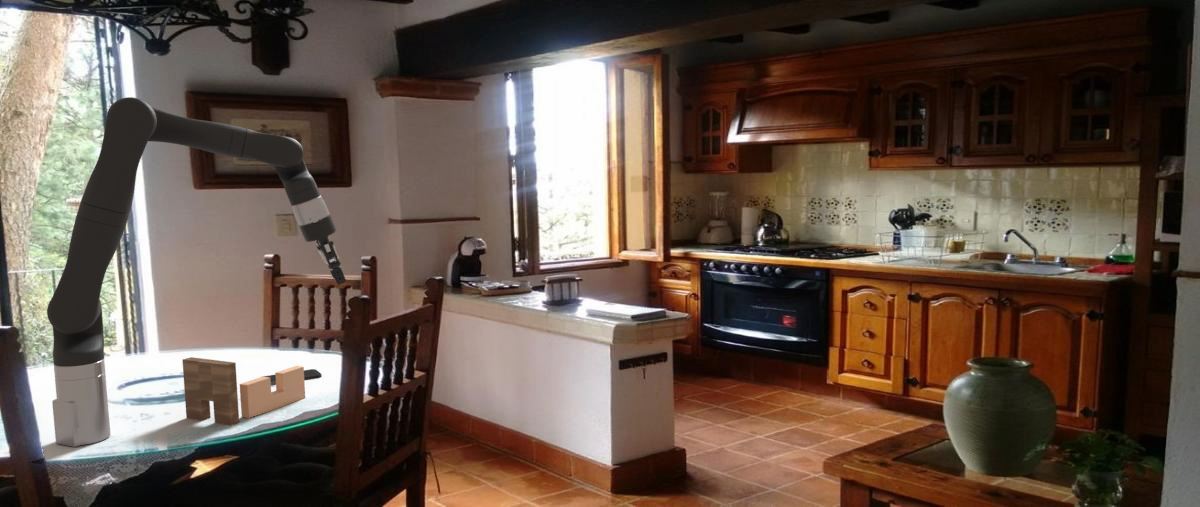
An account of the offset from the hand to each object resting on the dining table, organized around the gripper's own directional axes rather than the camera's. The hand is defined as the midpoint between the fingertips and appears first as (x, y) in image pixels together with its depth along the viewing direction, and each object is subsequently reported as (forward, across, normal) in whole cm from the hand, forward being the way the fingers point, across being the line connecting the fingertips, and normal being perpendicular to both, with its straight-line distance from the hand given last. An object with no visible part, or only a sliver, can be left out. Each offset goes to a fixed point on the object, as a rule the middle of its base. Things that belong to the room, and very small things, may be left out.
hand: (340, 280), depth 200 cm
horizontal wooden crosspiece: (+24, -3, -25) cm, 35 cm away
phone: (+26, -30, -21) cm, 45 cm away
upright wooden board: (+19, +1, -38) cm, 43 cm away
